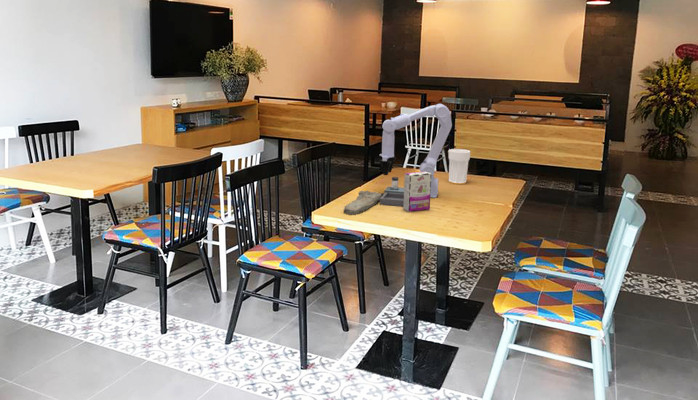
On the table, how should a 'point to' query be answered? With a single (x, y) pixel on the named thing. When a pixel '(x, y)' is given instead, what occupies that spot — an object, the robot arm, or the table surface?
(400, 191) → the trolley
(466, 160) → the cup
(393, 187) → the pin
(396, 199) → the tray
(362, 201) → the elongated rock
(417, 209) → the candy bar box
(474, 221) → the table surface
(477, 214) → the table surface
